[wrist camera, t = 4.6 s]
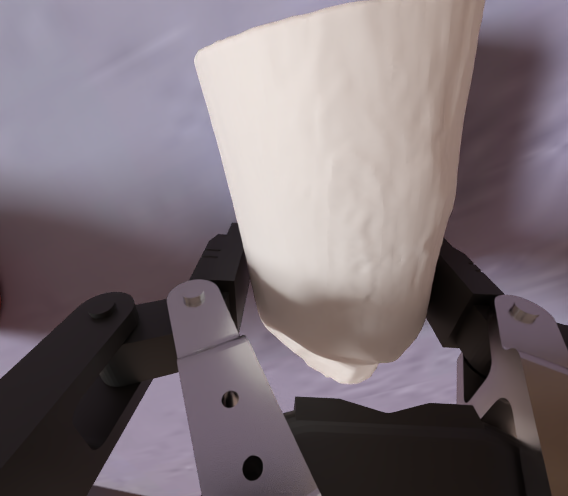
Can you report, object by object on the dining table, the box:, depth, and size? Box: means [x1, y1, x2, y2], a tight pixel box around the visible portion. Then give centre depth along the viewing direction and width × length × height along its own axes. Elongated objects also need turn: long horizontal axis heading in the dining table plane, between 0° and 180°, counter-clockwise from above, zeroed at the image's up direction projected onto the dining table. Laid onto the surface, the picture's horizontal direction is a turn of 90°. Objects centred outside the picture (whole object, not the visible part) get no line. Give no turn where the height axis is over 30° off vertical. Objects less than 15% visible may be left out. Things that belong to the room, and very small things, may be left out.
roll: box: [194, 0, 485, 384], centre depth 9 cm, size 6×12×6 cm, turn 8°
